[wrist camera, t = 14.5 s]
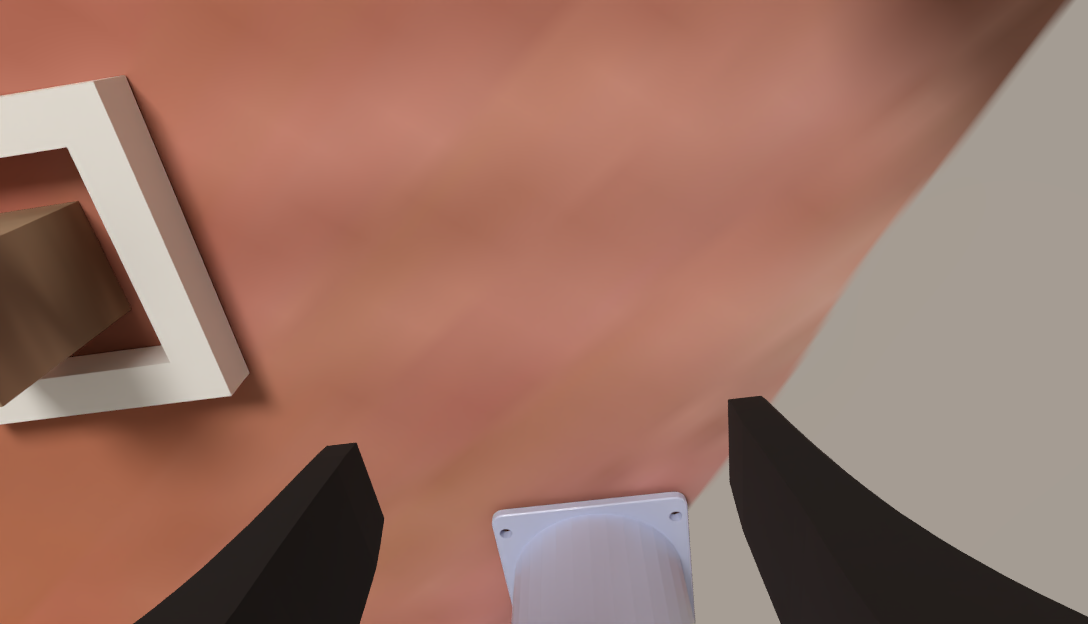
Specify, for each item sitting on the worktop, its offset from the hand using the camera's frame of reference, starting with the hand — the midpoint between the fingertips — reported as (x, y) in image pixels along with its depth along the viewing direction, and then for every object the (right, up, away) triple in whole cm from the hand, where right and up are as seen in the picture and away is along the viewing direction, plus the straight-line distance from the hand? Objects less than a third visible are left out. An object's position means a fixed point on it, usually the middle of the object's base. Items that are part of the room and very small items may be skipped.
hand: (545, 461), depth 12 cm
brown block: (-17, +5, +10) cm, 20 cm away
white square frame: (-17, +5, +10) cm, 20 cm away
